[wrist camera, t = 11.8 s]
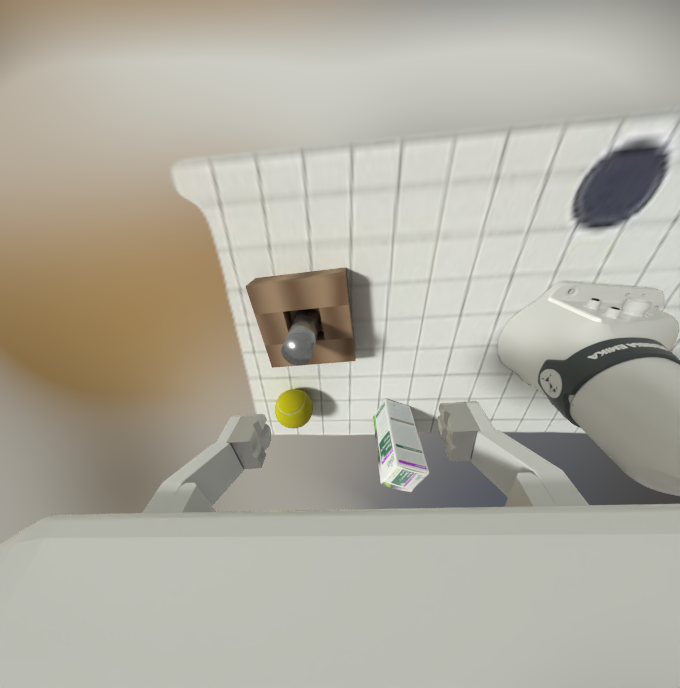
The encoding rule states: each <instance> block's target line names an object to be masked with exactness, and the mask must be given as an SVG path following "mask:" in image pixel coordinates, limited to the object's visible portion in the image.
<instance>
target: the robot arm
mask: <svg viewBox="0 0 680 688" xmlns="http://www.w3.org/2000/svg"><path fill="white" fill-rule="evenodd" d="M570 289H571V290H570ZM569 290H570V291H569ZM568 291H569V292H568ZM664 301H665V300H664V294H663V292H662V291H660V290H658V289H655V288H648V287H635V286H622V285H609V284H597V283H584V282H571V281H560V282H558V283H556V284H555V285H553V286H552V287H551V288H550V289H549V290H548V291H547V292H546V293H545V294H544V295H543V296H542V297H541V298H540V299H539V300H537V301H536V302H534V303H532V304H531V305H529V306H527V307H526V308H524V309H523V310H521V311H520V312H519V313H517V314H516V315H515V316H514V317H513V318H512V319H511V320H510V321H509V322H508V324H507V325H506V326H505V328H504V329H503V331H502V333H501V335H500V338H499V341H498V355H499V358H500V360H501V361H502V363H503V364H504V365H505V366H506V367H508V368H509V369H511V370H513V371H514V372H516V373H517V374H519V375H520V376H521V378H522V379H523V381H525V382H526V383H527V384H528V385H533V386H534V387H535V388H536V389H538V390H539V391H540V392H541V393H542V394H544V395H545V396H546V397H547V398H548V399H549V400H550V402H551V403H552V404H553V405H554V406H555V407H556V408H557V409H558V410H559V411H560V412H561V413H562V415H563V416H564V417H565V418H566V419H568V420H569V421H570V422H571V423H572V424H574V425H576V426H578V427H580V428H582V429H583V430H584V431H585V432H586V433H587V434H588V435H589V436H590V437H591V438H592V439H593V440H594V441H595V442H596V443H597V445H598V446H599V447H600V448H602V450H603V451H604V452H605V453H606V454H607V455H608V456H609V457H610V458H611V459H612V460H613V461H614V462H615V463H616V464H617V465H618V466H619V467H620V468H621V469H622V470H623V471H624V472H625V473H626V474H627V475H628V476H630V477H631V478H633V479H634V480H635V481H637V482H639V483H640V484H642V485H644V486H646V487H648V488H651V489H654V490H657V491H660V492H664V493H668V494H672V495H677V496H680V360H679V359H678V358H677V357H676V356H675V355H674V354H673V353H672V352H671V350H672V348H673V346H674V344H675V342H676V339H677V337H678V332H679V325H678V322H677V320H676V319H675V318H674V317H673V316H671V315H669V314H667V313H665V312H663V309H664ZM439 411H440V414H441V415H440V416H439V417H438V429H439V433H440V436H441V438H442V439H443V440H444V441H445V449H446V452H447V455H448V458H449V460H450V461H471V463H473V464H474V465H475V466H476V467H477V468H478V469H479V470H480V471H481V472H482V473H483V474H484V475H485V476H486V477H487V478H488V479H489V480H490V481H491V482H493V483H494V484H495V485H496V486H497V487H498V488H499V489H500V490H501V491H502V492H503V493H504V494H505V495H506V496H507V497H508V500H507V502H506V505H505V507H473V508H422V509H421V508H419V509H418V508H415V509H360V510H302V511H244V512H216V511H215V510H214V508H213V507H212V505H213V504H214V503H215V502H216V501H217V500H218V499H219V497H220V496H221V495H222V494H223V493H224V492H225V491H226V490H227V488H228V487H229V486H230V485H231V484H232V483H233V482H234V481H235V480H236V478H237V477H238V476H239V475H240V474H241V473H242V472H243V471H244V469H252V468H262V465H263V462H264V459H265V456H266V453H265V451H264V450H265V449H267V448H268V447H269V444H270V441H271V430H270V427H269V426H268V425H267V424H265V423H266V420H267V419H266V417H265V415H263V414H254V415H233V416H232V417H231V418H230V419H229V421H228V423H227V424H226V426H225V428H224V430H223V432H222V433H221V435H220V437H219V439H218V440H217V442H216V444H212V445H211V446H209V447H208V448H207V449H205V450H204V451H203V452H202V453H201V454H199V455H198V456H196V457H195V458H194V459H192V460H191V461H190V462H189V463H187V464H186V465H185V466H183V467H182V468H181V469H179V470H178V471H177V472H176V473H175V474H173V475H172V476H171V477H169V478H168V479H167V480H165V481H164V482H163V483H162V484H161V486H160V487H159V489H158V490H157V492H156V493H155V495H154V496H153V498H152V499H151V500H150V502H149V503H148V505H147V507H146V508H145V509H144V511H143V512H142V513H126V514H125V513H124V514H58V515H51V516H48V517H45V518H42V519H41V520H39V521H37V522H36V523H34V524H32V525H30V526H28V527H27V528H25V529H23V530H21V531H20V532H18V533H17V534H15V535H14V536H12V537H10V538H9V539H7V540H5V541H4V542H2V543H1V544H0V688H680V504H645V505H594V506H593V505H589V504H588V503H587V502H586V501H585V499H584V498H583V497H582V495H581V494H580V493H579V491H578V490H577V489H576V488H575V486H574V485H573V484H572V482H571V481H570V480H569V478H568V477H567V476H566V474H565V473H564V472H563V471H562V470H561V469H559V468H558V467H556V466H554V465H553V464H551V463H550V462H548V461H547V460H545V459H543V458H542V457H540V456H538V455H537V454H536V453H534V452H532V451H531V450H529V449H528V448H526V447H524V446H523V445H521V444H520V443H518V442H517V441H515V440H513V439H512V438H510V437H509V436H507V435H506V434H504V433H502V432H501V431H499V430H495V429H494V427H493V426H492V424H491V423H490V421H489V419H488V418H487V416H486V414H485V413H484V411H483V410H482V408H481V406H480V405H479V403H478V402H477V401H469V402H455V403H440V405H439Z"/></svg>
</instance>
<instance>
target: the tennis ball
mask: <svg viewBox="0 0 680 688" xmlns="http://www.w3.org/2000/svg"><path fill="white" fill-rule="evenodd" d="M312 411H313V404H312V401H311V398H310V397H309V395H308V394H307V393H305V392H304V391H302V390H298V389H292V390H288V391H285V392H284V393H282V394H281V395H280V396H279V398H278V400H277V402H276V405H275V414H276V417H277V419H278V421H279V422H280V423H281V424H282V425H283V426H285V427H288V428H298V427H301V426H303V425H305V424H306V423H307V422H308V421H309V419H310V417H311V415H312Z"/></svg>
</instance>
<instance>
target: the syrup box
mask: <svg viewBox="0 0 680 688" xmlns="http://www.w3.org/2000/svg"><path fill="white" fill-rule="evenodd" d="M373 419H374V427H375V436H376V445H377V454H378V462H379V471H380V481H381V484H383V485H384V486H387V487H391V488H394V489H397V490H402V491H409V492H412V490H413V489H414V488H415V487H416V486H417V485H418V484H419V483H420V482H421V481H422V480H423V479H424V478H425V477H426V476H427V475H428V474H429V470H428V467H427V464H426V460H425V456H424V453H423V449H422V446H421V443H420V439H419V436H418V432H417V429H416V426H415V422H414V419H413V415H412V412H411V408H410V407H409V406H407V405H404V404H401V403H398V402H395V401H391V400H388V399H385V400H384V402H383V403H382V404H381V406H380V407H379V409H378V410H377V412H376V414H375V415H374V417H373Z"/></svg>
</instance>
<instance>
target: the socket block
mask: <svg viewBox="0 0 680 688" xmlns="http://www.w3.org/2000/svg"><path fill="white" fill-rule="evenodd" d="M246 289H247V292H248V295H249V298H250V301H251V304H252V307H253V310H254V313H255V316H256V319H257V323H258V326H259V329H260V332H261V335H262V338H263V341H264V344H265V347H266V350H267V353H268V356H269V359H270V362H271V365H272V367H284V366H297V365H293V364H290V363H289V362H287V361H286V360H285V359H284V358H283V356H282V353H281V349H282V346H283V344H284V341H285V339H286V337H287V335H288V333H289V330H290V328H291V326H292V324H293V322H294V319H295V317H296V315H297V313H298V311H299V310H304V309H315V310H316V311H317V312H318V313H319V314H320V317H321V322H320V327H319V331H318V335H317V339H316V343H315V348H314V352H313V356H312V359H311V360H310V361H309V362H308V363H307V364H304V365H309V364H322V363H334V362H347V361H355V343H354V334H353V325H352V316H351V308H350V299H349V290H348V282H347V273H346V268H338V269H330V270H321V271H313V272H305V273H296V274H288V275H279V276H271V277H263V278H255V279H254V280H253V281H252V282H250V283H249V284H248V285H247V286H246Z"/></svg>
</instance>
